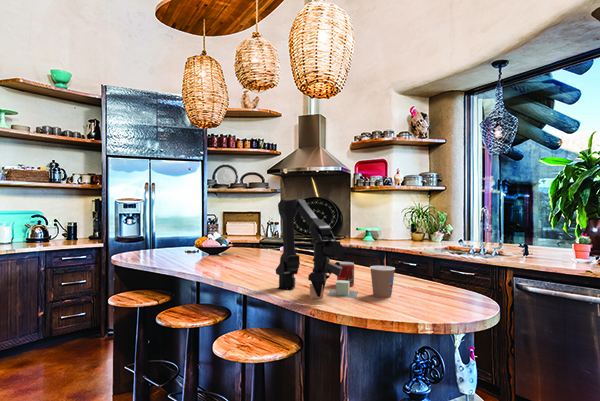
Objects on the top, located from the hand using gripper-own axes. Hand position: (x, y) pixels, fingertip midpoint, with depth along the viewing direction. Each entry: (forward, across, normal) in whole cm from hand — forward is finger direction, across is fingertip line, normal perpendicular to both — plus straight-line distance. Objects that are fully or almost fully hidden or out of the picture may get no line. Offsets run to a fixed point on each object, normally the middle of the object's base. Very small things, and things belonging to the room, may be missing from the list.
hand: (320, 295), depth 147 cm
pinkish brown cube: (+1, 0, +2) cm, 2 cm away
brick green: (+1, +8, -8) cm, 11 cm away
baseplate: (+1, +8, -8) cm, 11 cm away
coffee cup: (+1, +10, -24) cm, 26 cm away
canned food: (+1, +26, -7) cm, 27 cm away
